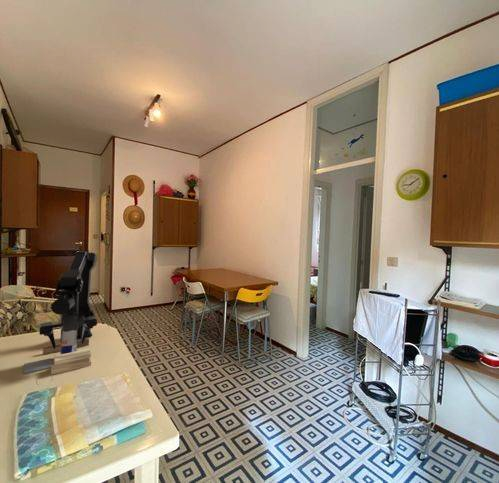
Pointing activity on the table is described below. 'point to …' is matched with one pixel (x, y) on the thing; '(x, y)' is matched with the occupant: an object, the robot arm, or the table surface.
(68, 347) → the energy drink
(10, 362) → the table surface
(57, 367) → the offcut stack
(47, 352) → the walnut back board
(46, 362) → the slate pad
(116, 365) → the table surface
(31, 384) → the table surface
